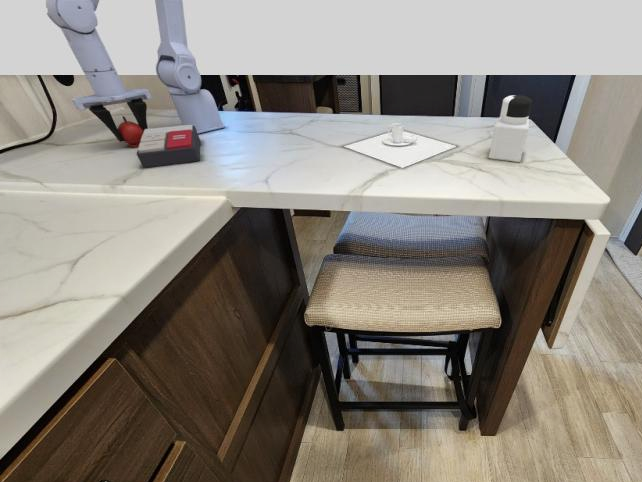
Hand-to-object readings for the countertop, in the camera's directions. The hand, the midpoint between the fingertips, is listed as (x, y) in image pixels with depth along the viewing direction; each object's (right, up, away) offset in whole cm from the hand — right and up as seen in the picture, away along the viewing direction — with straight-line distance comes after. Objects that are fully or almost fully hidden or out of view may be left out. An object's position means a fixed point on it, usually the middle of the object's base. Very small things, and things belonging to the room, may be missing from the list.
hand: (134, 138), depth 79 cm
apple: (0, -1, +1) cm, 2 cm away
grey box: (+12, -5, -3) cm, 13 cm away
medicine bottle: (+90, -5, -2) cm, 90 cm away
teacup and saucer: (+65, -1, +2) cm, 65 cm away
